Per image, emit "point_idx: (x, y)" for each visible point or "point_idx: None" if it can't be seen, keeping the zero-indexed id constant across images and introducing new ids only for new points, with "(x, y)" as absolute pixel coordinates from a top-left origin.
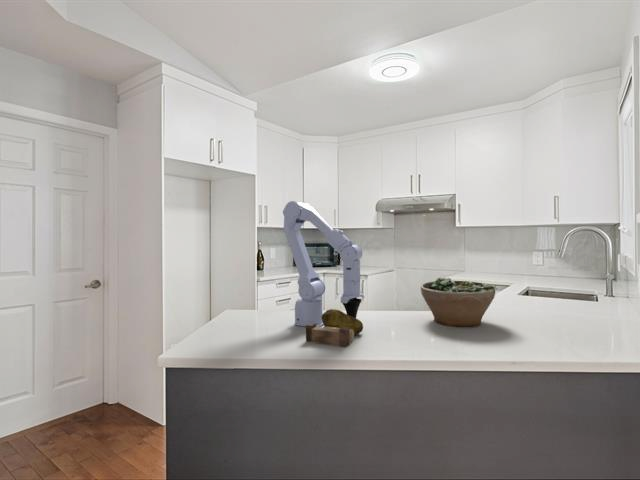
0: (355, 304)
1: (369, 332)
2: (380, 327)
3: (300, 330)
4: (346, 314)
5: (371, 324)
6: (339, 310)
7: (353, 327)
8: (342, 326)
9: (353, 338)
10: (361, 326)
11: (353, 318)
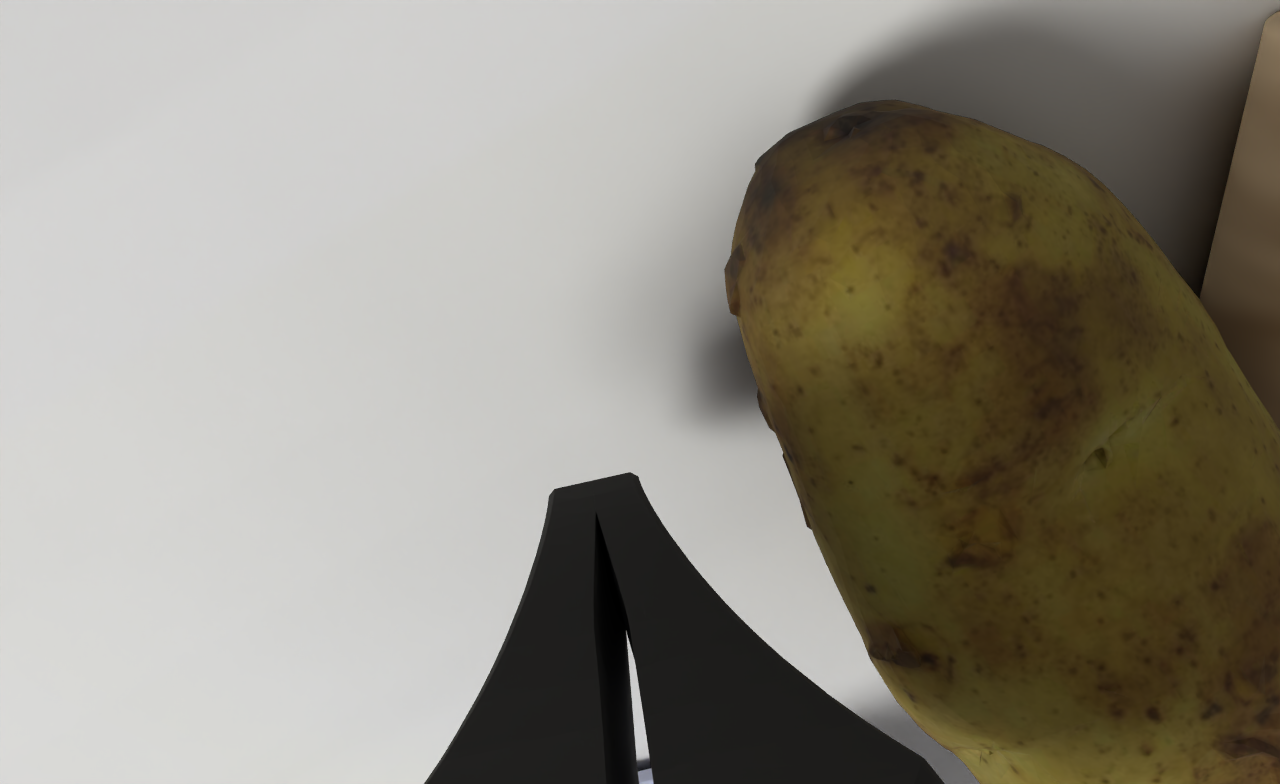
0: (918, 768)
1: (581, 43)
2: (19, 30)
3: (963, 768)
4: (1058, 590)
5: (10, 332)
6: (1160, 762)
7: (1125, 210)
8: (1241, 371)
9: (1268, 26)
10: (953, 117)
11: (1030, 389)
